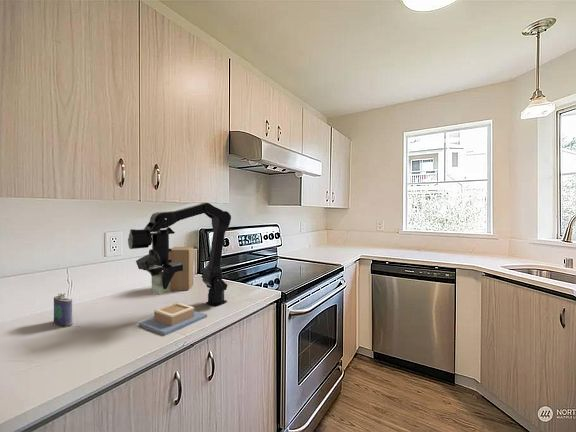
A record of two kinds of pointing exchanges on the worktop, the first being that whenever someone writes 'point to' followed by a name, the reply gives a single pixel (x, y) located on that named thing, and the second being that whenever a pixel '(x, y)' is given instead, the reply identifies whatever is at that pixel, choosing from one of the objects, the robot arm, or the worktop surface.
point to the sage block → (158, 285)
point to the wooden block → (185, 277)
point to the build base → (170, 328)
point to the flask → (62, 311)
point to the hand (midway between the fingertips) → (161, 287)
